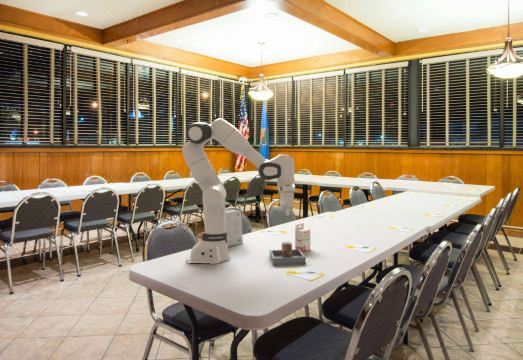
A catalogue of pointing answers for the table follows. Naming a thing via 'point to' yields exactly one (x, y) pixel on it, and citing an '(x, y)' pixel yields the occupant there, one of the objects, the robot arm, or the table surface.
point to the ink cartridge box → (302, 238)
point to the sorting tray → (294, 260)
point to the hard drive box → (234, 227)
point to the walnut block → (286, 249)
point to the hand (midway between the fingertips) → (286, 213)
